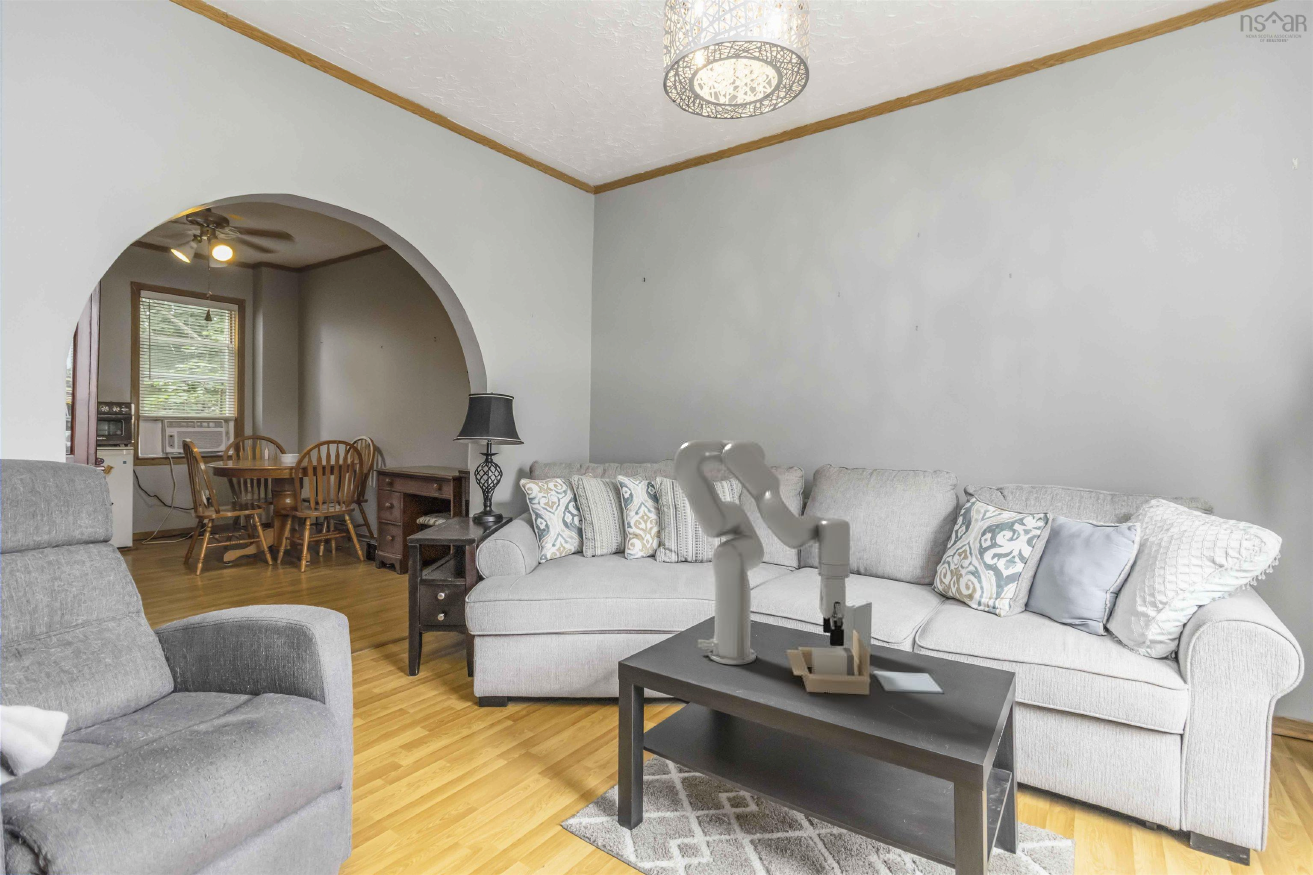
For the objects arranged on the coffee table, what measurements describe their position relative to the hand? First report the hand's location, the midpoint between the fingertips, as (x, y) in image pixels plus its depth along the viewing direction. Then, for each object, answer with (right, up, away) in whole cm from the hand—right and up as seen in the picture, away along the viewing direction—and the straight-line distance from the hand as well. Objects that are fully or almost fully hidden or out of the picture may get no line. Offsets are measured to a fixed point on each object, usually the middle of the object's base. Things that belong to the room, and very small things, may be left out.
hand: (833, 638), depth 162 cm
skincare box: (+10, -10, +17) cm, 23 cm away
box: (0, -10, 0) cm, 10 cm away
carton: (-2, -10, +1) cm, 10 cm away
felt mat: (+18, -10, -1) cm, 21 cm away
